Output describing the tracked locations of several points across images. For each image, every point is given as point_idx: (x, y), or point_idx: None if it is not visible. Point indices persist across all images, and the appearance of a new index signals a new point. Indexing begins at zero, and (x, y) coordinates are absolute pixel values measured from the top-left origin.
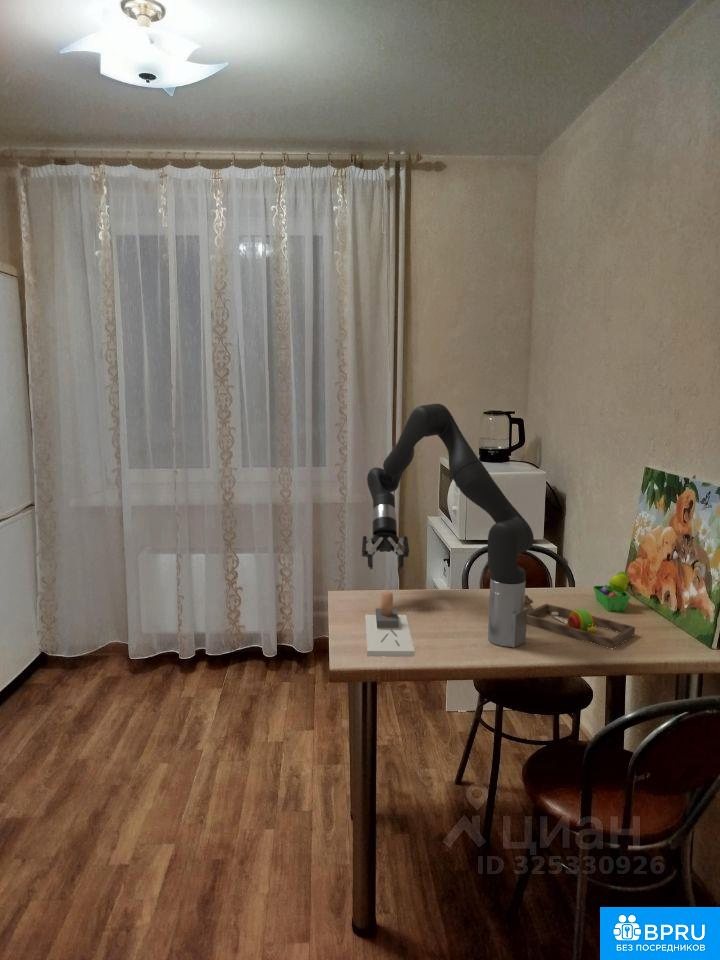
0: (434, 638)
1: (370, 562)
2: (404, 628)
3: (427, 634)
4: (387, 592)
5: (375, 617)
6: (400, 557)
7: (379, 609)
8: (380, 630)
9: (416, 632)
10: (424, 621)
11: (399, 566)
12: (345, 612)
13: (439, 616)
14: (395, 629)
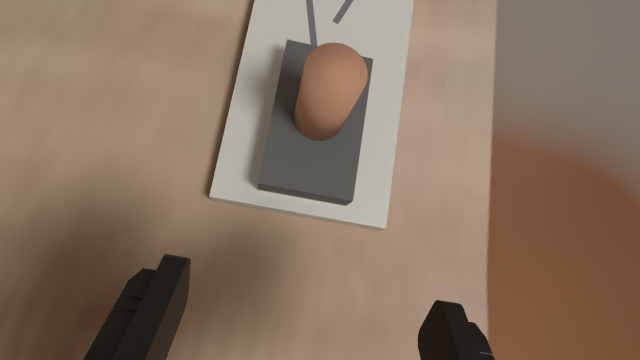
0: (163, 4)
1: (469, 328)
2: (260, 55)
3: (176, 42)
4: (330, 89)
5: None
6: (130, 336)
7: (338, 184)
8: None
9: (211, 68)
10: (137, 169)
11: (185, 257)
12: None
13: (40, 216)
14: None
